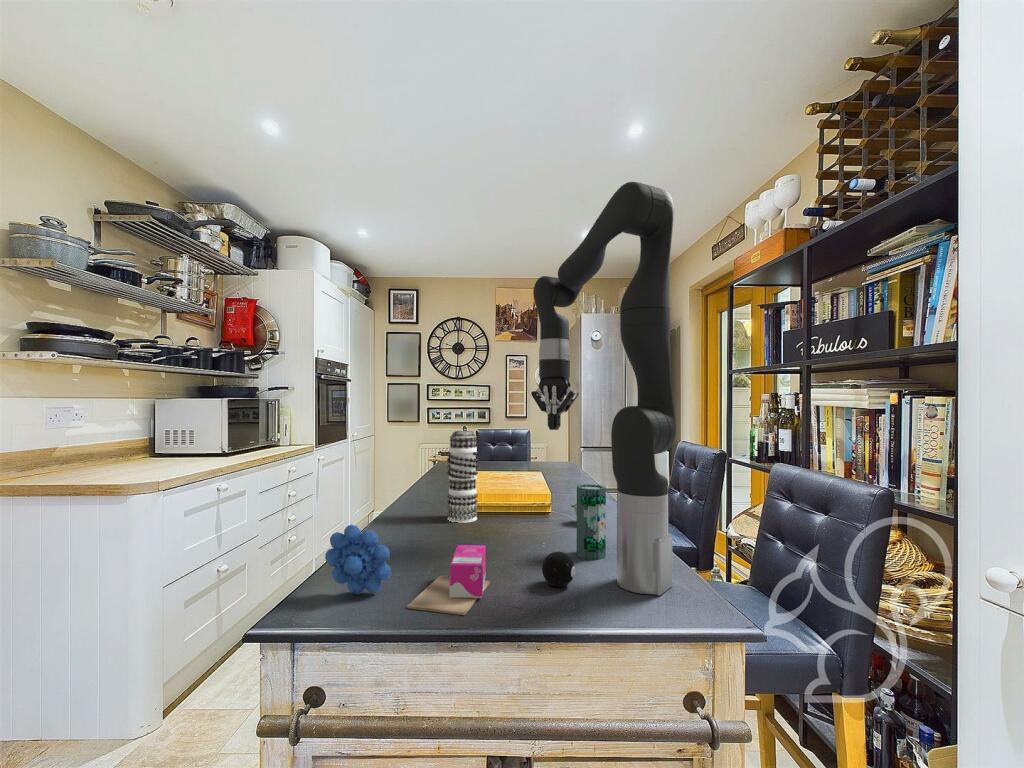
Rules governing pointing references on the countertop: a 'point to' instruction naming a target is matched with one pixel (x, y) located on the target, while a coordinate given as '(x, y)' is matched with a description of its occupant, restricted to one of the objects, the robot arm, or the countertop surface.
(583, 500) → the can
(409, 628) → the countertop surface
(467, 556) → the supplement box
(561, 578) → the billiard ball
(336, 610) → the countertop surface
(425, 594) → the brown paper envelope
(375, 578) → the blue knobbed wheel
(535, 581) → the countertop surface
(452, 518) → the grey white cylinder
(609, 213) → the robot arm
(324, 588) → the countertop surface
